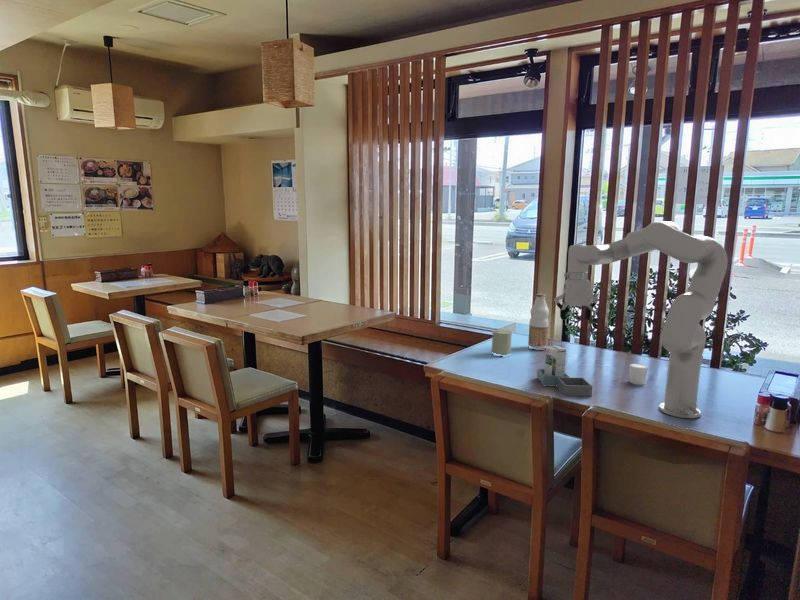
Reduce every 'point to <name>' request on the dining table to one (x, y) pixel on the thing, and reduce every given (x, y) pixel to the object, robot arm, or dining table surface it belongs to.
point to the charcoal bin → (574, 386)
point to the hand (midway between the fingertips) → (575, 319)
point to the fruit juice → (539, 323)
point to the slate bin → (548, 377)
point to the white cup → (638, 373)
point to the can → (501, 342)
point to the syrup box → (555, 361)
